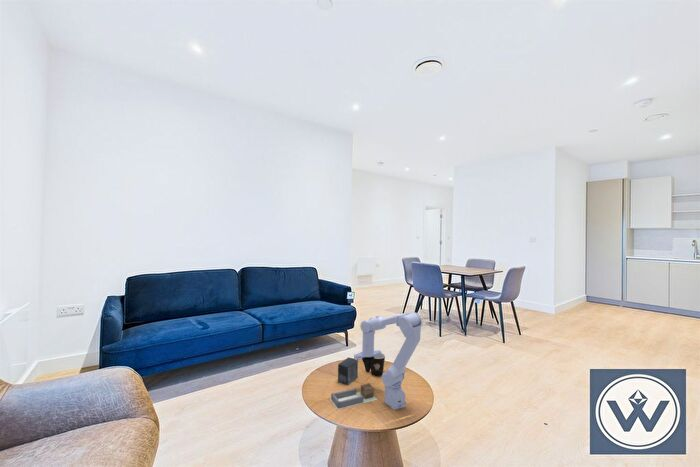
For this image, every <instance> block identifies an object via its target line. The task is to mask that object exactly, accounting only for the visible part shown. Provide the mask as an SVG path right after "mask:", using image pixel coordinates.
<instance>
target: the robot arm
mask: <svg viewBox="0 0 700 467" xmlns="http://www.w3.org/2000/svg"><path fill="white" fill-rule="evenodd" d="M393 324H395V325H396V327H399V329H400V331H401V332H402V334H403V336H404V337H405V340H404V342H403V344H402V346H401V347H400V349H399V351H398V353H397V356H396V357H395V359H394V361H393V362H392V364H391V365H390V366H389V367H388V368H387V369H386V371H385V372H383V374H382V375H381V381H382V383H383V385H384V403H385V404H386V405H387V406H389V407H390V408H391V409H392V410H394V411H395V410H400V409H403V408H405V407H406V393H405V391H404V390H403V389H402V388H403V387H402V383H403V381H404V379H405V373H406V366H407V364H408V363H409V361H410V359H411V357H412V355H413V353H414V352H415V350H416V348H417V346H418V345H419V343H420V341H421V331H422V330H421V329H422V325H423V321H422V318H421V316H420V315H419V313H417V312H413V311H412V312H405V313H399V314H395V315H391V316H389V317H384V316H380V315H376V316H375V317H374V318H373V317H370V318H368V319H366V320H363V321H361V322H360V330H361V332H362V344H361V345H362V347H361V348H362V349H361V350H362V351H360V352H358V353H355V354H353V359H355V360H358V361H359V359H361V360H362V362H363V366H364V369H365V372H366V373H367V374H368V373H371V366H372V364H373V362H374V360H375V358H374V357H373V356H377V355H381V353H382V350H380V349H379V350H375V334H376V331H380V330H383V329H385V328H386V327H387V326H389V325H393Z"/></svg>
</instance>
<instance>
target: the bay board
mask: <svg viewBox="0 0 700 467" xmlns="http://www.w3.org/2000/svg"><path fill="white" fill-rule="evenodd" d="M330 396H331V397H330V398H329V400H330V402H332V404H333V405H334V407H335V408H336V410H342V409H347V408H350V407H354V406H358V405H362V404H366V403H369V402H373V401H377V400H378V398H376V397H375V396H374V397H372V398H368V399H364V397H363V396H362V395H361V391H357V388H351V389H346V390H342V391H337V392H332V393H331V394H330Z"/></svg>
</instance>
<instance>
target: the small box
mask: <svg viewBox="0 0 700 467" xmlns="http://www.w3.org/2000/svg"><path fill="white" fill-rule="evenodd" d="M358 364H359V359H358V360H355V359H354V357H347V358H345V359H344V360H342V361H341V362H340V363H338V364H337V382H338V383H340V384H342V385H346V386H349V385H350V384H352V383H353V382H354V381H355V380H356V379H358V377H359V376H358V373H359V371H358V369H359V366H358Z"/></svg>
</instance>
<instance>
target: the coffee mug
mask: <svg viewBox="0 0 700 467" xmlns="http://www.w3.org/2000/svg"><path fill="white" fill-rule="evenodd" d="M373 357H374V358H375V360H374V362H373V364H372V366H371V369H370V374H371V375H372V376H375V377H380V376H381V377H382V374H383V373H384V366H385V359H386V355H385V354H384V353H382V352H381V355H377V356H373Z"/></svg>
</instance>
